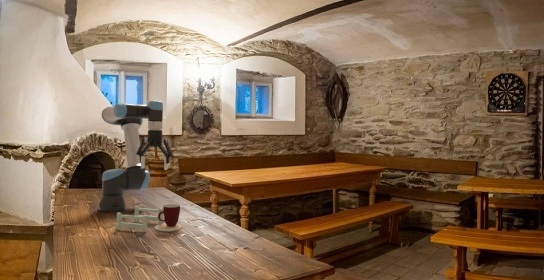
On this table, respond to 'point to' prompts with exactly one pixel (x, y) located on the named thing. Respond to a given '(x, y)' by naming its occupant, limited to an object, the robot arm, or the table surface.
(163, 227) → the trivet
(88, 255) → the table surface
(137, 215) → the cradle
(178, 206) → the mug
